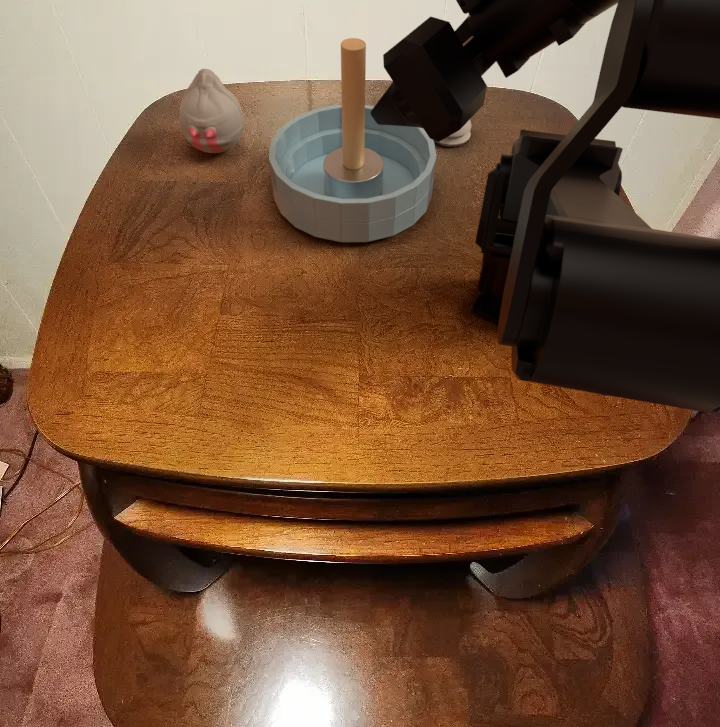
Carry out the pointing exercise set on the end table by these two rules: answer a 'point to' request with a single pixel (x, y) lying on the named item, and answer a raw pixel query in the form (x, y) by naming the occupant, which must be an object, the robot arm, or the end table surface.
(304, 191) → the bowl
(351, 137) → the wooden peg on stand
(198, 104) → the figurine
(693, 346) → the robot arm
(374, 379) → the end table surface
